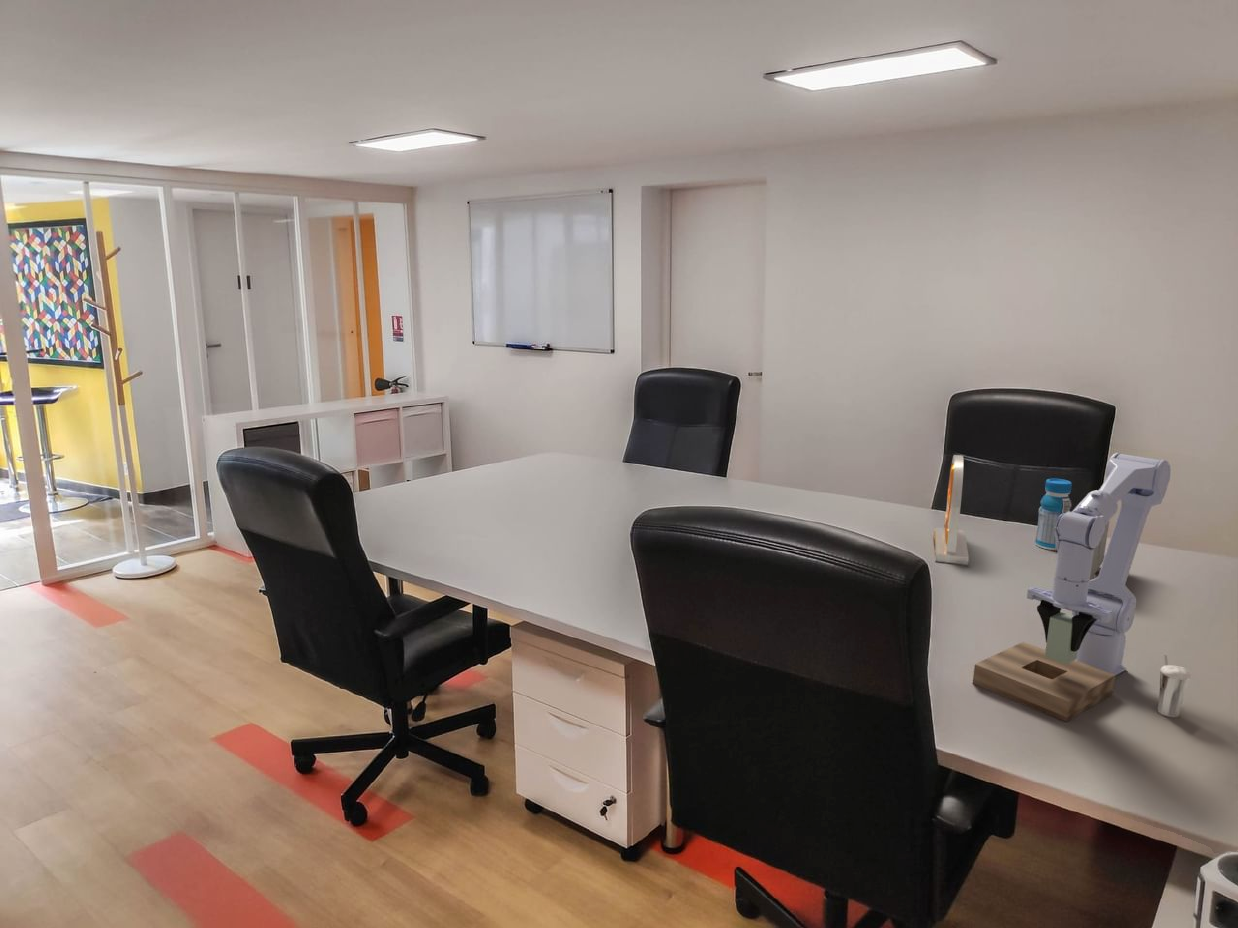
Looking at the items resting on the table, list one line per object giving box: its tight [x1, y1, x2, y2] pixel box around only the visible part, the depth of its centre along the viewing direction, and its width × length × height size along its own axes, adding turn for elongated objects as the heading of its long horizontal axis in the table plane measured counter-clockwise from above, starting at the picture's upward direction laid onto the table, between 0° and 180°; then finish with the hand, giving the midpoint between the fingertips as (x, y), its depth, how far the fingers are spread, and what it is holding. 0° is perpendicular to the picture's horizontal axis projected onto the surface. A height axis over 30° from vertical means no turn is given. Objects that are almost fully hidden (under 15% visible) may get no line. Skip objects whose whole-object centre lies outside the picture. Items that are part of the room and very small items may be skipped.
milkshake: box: [1157, 654, 1191, 719], centre depth 155 cm, size 4×5×10 cm
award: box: [932, 454, 970, 566], centre depth 245 cm, size 28×9×28 cm, turn 161°
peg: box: [1045, 611, 1078, 664], centre depth 159 cm, size 4×4×8 cm
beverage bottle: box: [1034, 478, 1073, 551], centre depth 250 cm, size 8×8×20 cm
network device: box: [1090, 521, 1110, 580], centre depth 224 cm, size 26×9×20 cm, turn 143°
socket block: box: [972, 641, 1116, 723], centre depth 163 cm, size 18×18×4 cm
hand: (1062, 645), depth 160 cm, fingers closed on peg, 4 cm apart
